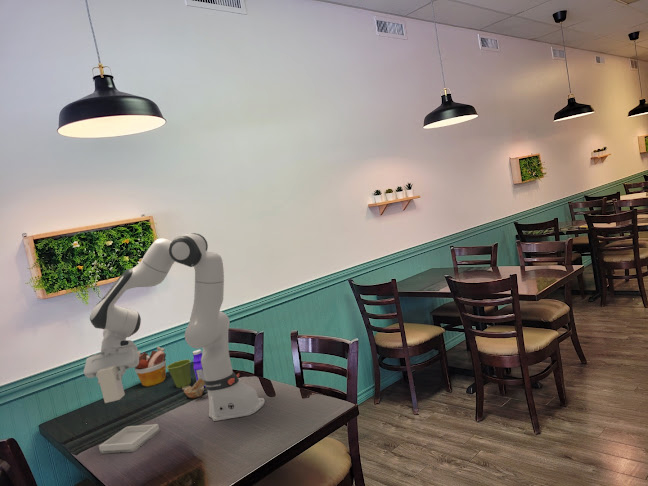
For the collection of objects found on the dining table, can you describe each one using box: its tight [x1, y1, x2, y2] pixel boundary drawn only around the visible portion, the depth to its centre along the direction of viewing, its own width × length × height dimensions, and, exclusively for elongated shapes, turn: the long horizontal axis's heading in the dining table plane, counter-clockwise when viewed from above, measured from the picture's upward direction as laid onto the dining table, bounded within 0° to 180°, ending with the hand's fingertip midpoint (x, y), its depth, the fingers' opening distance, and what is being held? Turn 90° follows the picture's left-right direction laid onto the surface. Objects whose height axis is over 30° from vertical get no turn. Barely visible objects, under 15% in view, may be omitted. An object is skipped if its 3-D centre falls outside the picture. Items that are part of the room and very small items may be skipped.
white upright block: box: [97, 365, 126, 404], centre depth 183 cm, size 6×6×12 cm
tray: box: [98, 423, 161, 455], centre depth 182 cm, size 15×15×3 cm
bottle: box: [192, 349, 206, 388], centre depth 233 cm, size 7×6×17 cm
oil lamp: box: [181, 378, 205, 399], centre depth 221 cm, size 9×21×10 cm, turn 39°
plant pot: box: [166, 359, 192, 389], centre depth 242 cm, size 12×12×11 cm
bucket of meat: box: [134, 346, 167, 388], centre depth 258 cm, size 20×16×20 cm
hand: (109, 381), depth 182 cm, fingers closed on white upright block, 5 cm apart
